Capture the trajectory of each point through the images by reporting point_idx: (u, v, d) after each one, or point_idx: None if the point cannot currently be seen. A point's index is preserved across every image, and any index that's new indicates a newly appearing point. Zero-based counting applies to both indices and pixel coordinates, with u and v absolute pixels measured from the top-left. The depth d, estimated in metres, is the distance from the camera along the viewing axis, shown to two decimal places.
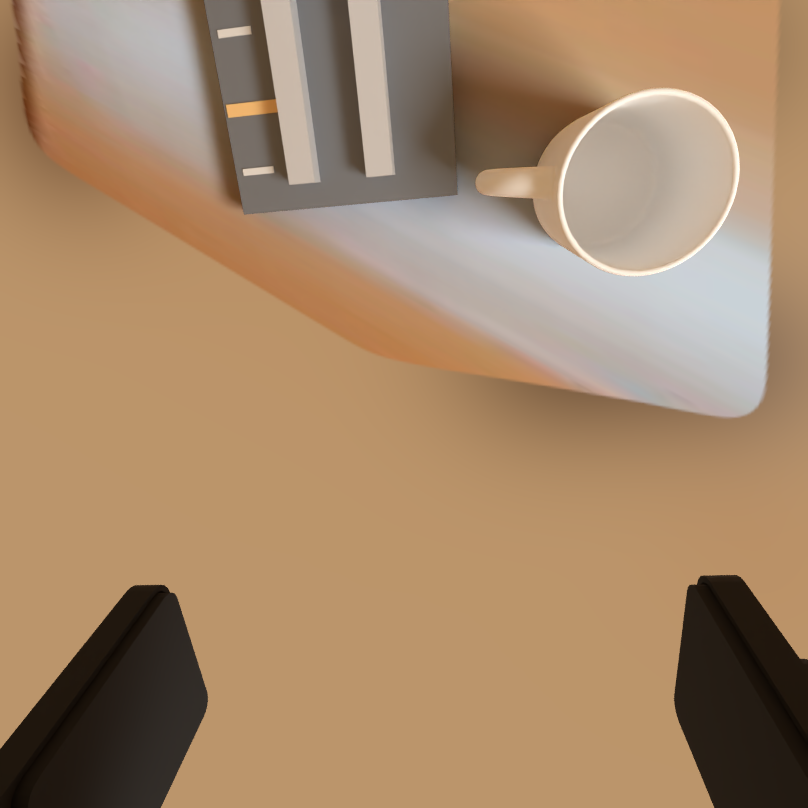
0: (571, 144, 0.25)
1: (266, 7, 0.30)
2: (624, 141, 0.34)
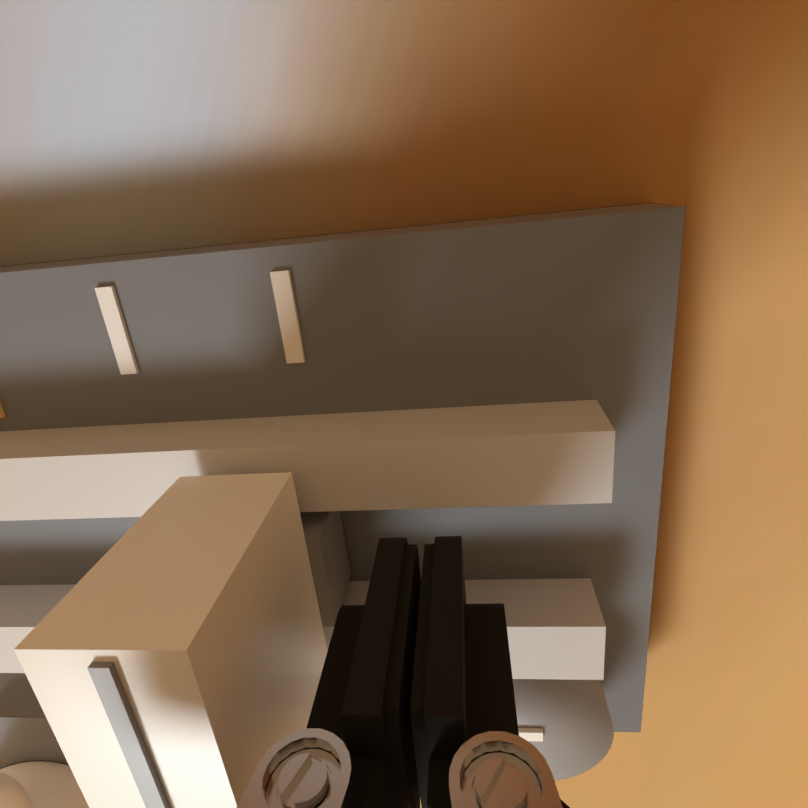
0: None
1: (133, 464, 0.12)
2: None
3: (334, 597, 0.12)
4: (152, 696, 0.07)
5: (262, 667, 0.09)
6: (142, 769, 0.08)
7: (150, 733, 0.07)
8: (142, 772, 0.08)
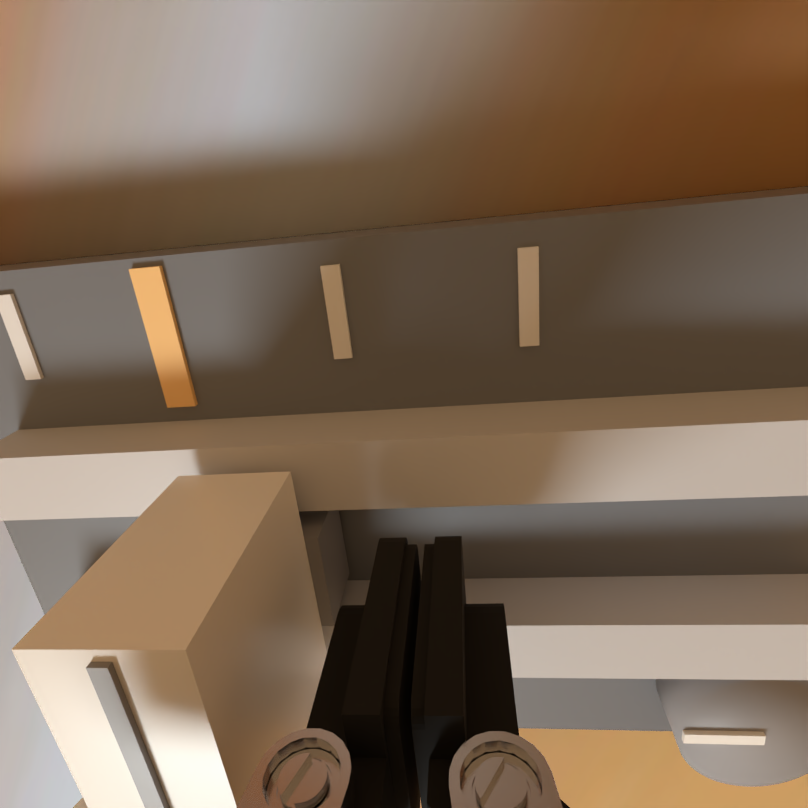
0: None
1: (365, 453, 0.11)
2: None
3: (333, 596, 0.12)
4: (151, 697, 0.07)
5: (262, 668, 0.09)
6: (141, 768, 0.08)
7: (149, 733, 0.07)
8: (141, 772, 0.08)
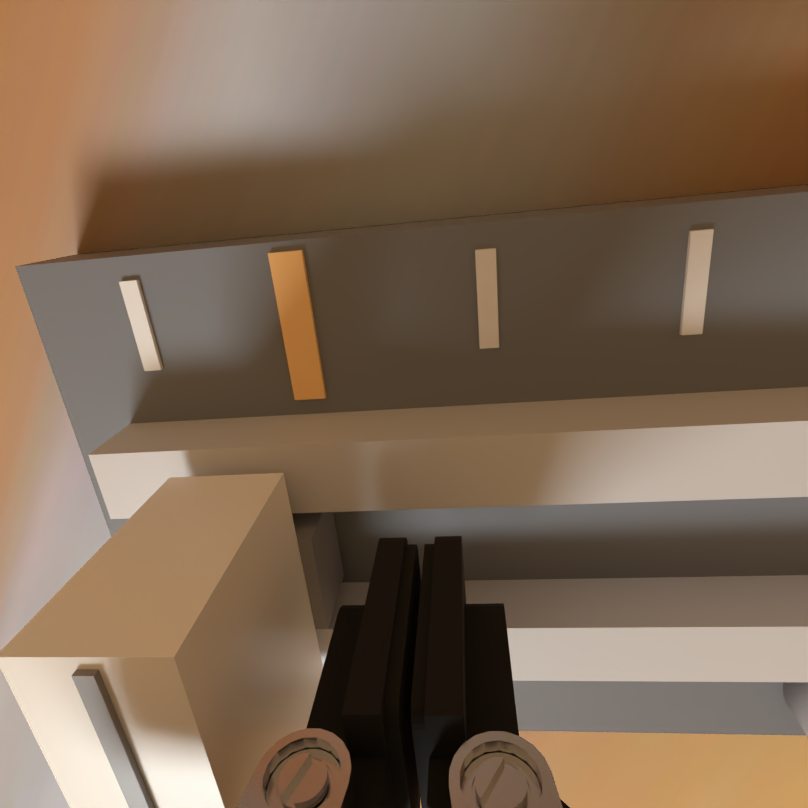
0: None
1: (525, 447, 0.10)
2: None
3: (327, 599, 0.12)
4: (139, 704, 0.07)
5: (253, 673, 0.09)
6: (129, 777, 0.08)
7: (137, 741, 0.07)
8: (129, 782, 0.07)
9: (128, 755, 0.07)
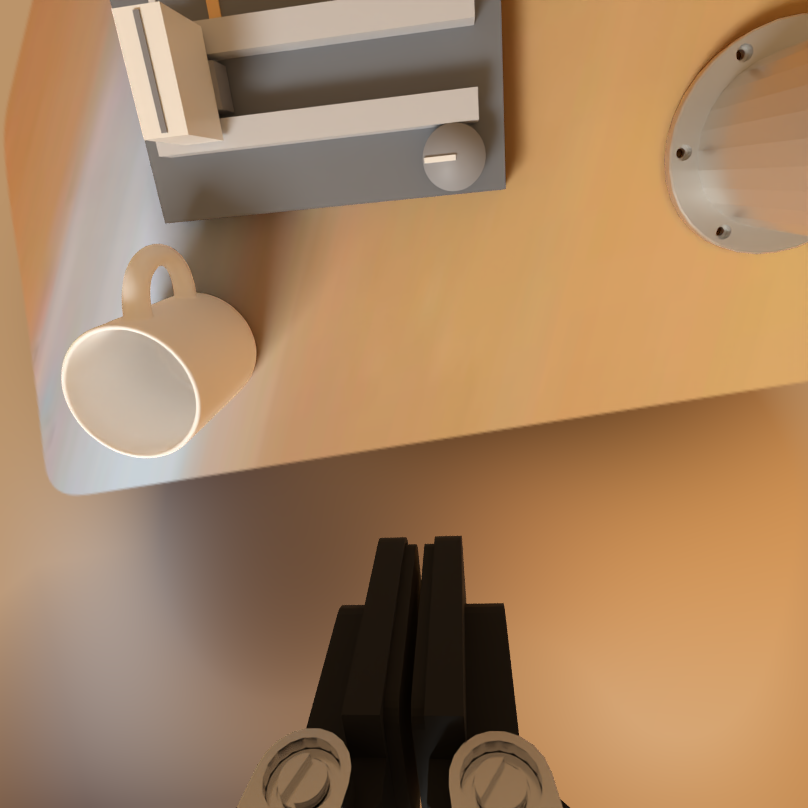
0: (150, 333, 0.30)
1: (287, 13, 0.29)
2: None
3: (222, 99, 0.31)
4: (150, 23, 0.26)
5: (185, 60, 0.28)
6: (147, 60, 0.26)
7: (149, 41, 0.26)
8: (147, 58, 0.26)
9: (146, 46, 0.26)
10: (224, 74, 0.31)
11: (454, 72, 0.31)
